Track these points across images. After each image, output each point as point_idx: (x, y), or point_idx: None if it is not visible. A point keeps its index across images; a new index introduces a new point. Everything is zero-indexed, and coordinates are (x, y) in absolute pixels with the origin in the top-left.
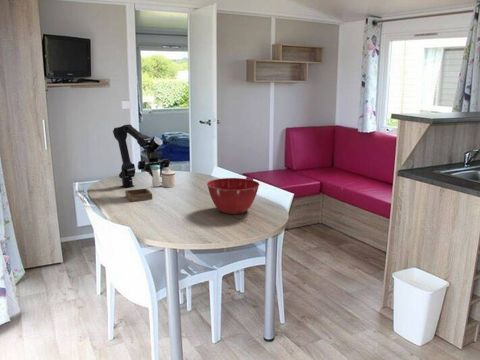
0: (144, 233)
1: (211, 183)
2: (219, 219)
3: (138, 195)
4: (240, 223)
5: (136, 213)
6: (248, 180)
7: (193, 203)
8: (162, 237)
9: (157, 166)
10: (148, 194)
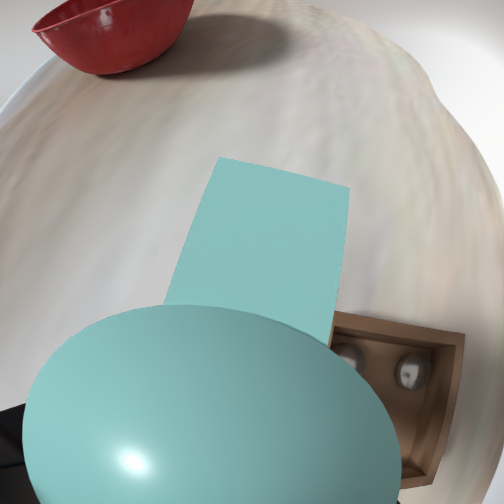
0: (415, 67)
1: (120, 8)
2: (217, 30)
3: (418, 327)
4: (201, 14)
5: (433, 174)
6: (41, 21)
7: (147, 142)
8: (383, 41)
9: (209, 295)
10: (350, 315)
